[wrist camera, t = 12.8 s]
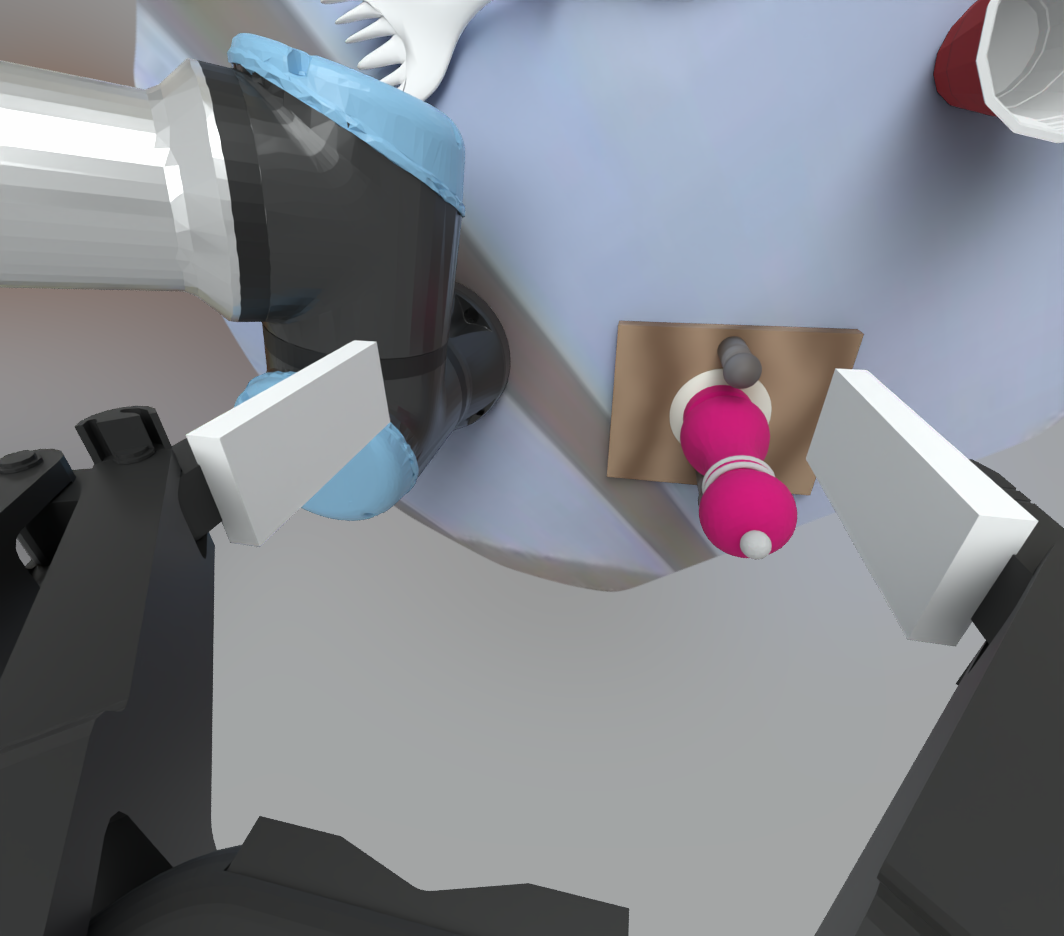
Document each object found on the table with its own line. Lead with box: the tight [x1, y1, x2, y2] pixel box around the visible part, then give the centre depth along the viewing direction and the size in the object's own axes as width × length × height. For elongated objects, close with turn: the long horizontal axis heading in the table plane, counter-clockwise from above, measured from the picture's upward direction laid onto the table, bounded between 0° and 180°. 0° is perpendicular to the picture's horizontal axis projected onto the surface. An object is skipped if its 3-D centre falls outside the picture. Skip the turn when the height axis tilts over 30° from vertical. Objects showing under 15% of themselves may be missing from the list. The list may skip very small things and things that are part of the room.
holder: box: [607, 321, 864, 506], centre depth 44 cm, size 20×16×8 cm
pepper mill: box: [680, 385, 797, 560], centre depth 37 cm, size 7×7×20 cm
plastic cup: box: [933, 0, 1064, 143], centre depth 27 cm, size 11×11×12 cm
